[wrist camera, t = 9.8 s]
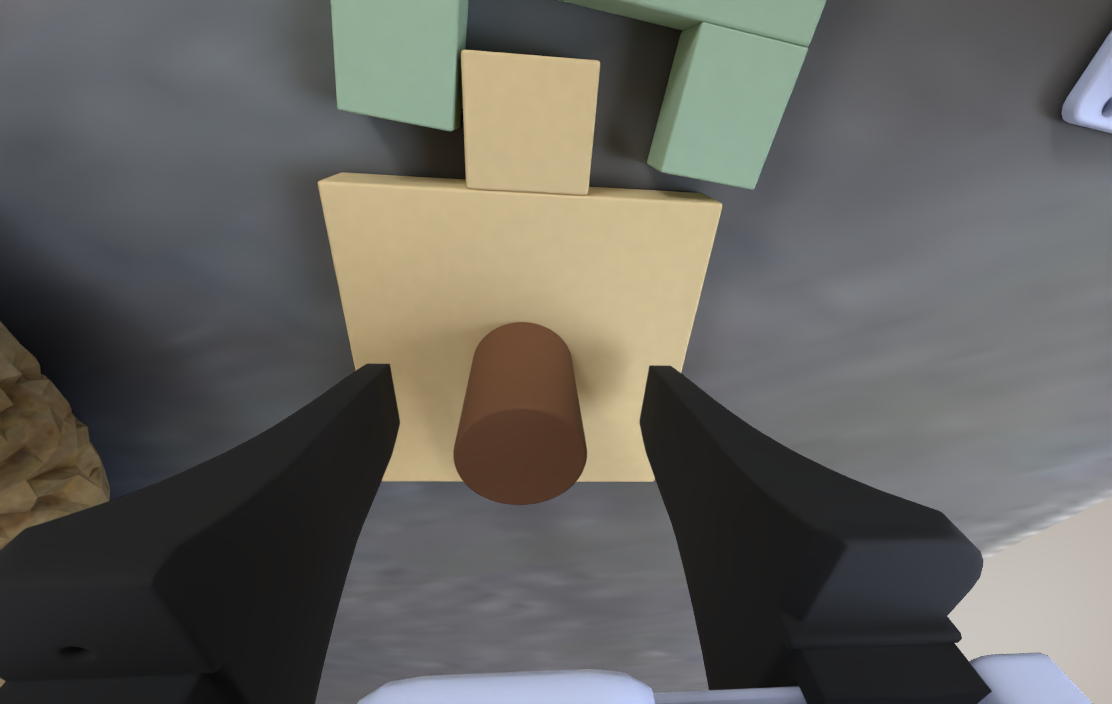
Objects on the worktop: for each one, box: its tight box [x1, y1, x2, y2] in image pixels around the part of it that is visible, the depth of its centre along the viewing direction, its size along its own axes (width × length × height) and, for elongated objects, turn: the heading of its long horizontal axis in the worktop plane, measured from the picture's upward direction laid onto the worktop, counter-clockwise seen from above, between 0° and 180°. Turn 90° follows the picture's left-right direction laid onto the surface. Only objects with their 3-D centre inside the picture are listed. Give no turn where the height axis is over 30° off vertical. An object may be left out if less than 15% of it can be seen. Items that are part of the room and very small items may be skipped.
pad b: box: [318, 50, 722, 505], centre depth 11 cm, size 10×13×6 cm
